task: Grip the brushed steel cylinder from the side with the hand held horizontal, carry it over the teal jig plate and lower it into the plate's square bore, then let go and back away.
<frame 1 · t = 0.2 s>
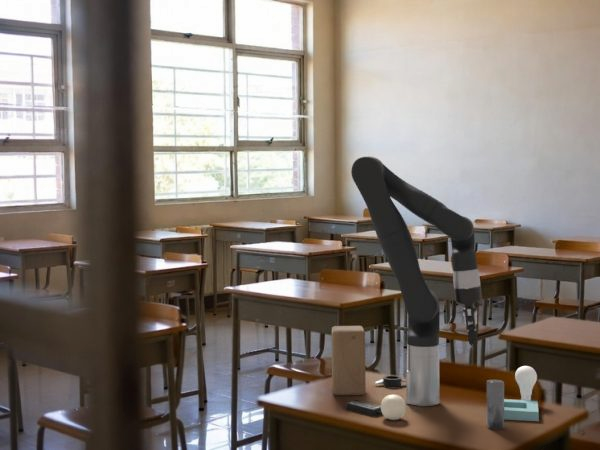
hand: (473, 341, 229), 19 cm above the table, tool pointing down, fingers open, 8 cm apart
jig: (515, 414, 219), on the table
multiport hub: (365, 413, 225), on the table
lightbulb: (526, 404, 230), on the table
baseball: (393, 419, 216), on the table
brushed steel cylinder: (495, 427, 207), on the table
black ring with tabs: (392, 387, 254), on the table
wooden block: (348, 392, 247), on the table
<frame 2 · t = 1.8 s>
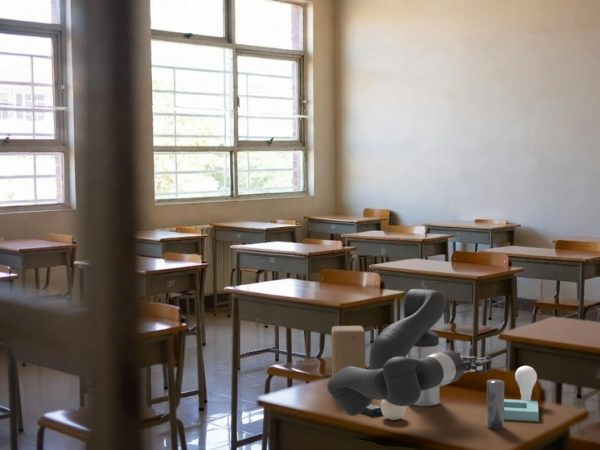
hand: (474, 358, 198), 20 cm above the table, tool horizontal, fingers open, 8 cm apart
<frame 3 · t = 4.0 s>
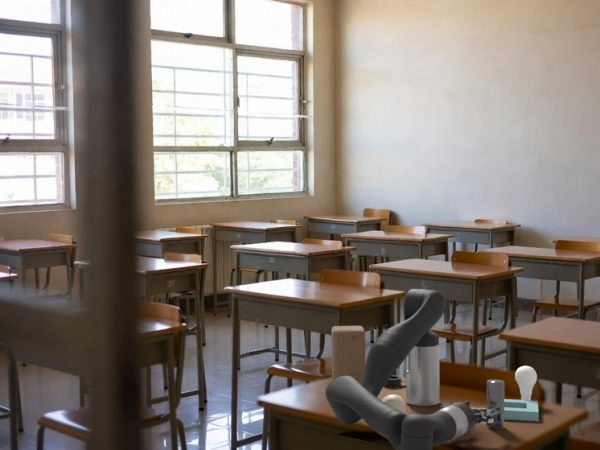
hand: (483, 407, 202), 7 cm above the table, tool horizontal, fingers open, 8 cm apart
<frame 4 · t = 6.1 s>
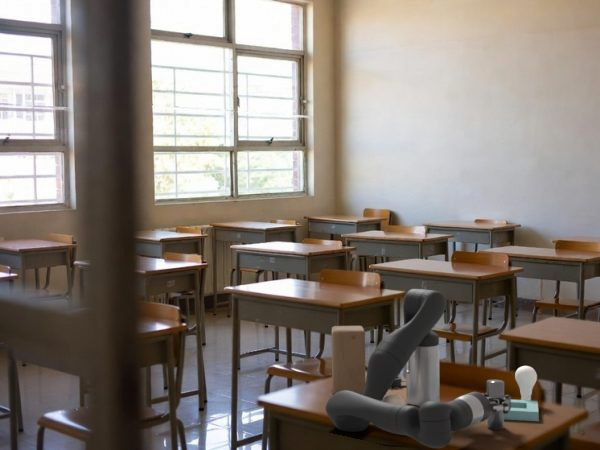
hand: (499, 397, 209), 7 cm above the table, tool horizontal, fingers closed on brushed steel cylinder, 4 cm apart
brushed steel cylinder: (495, 427, 207), on the table, touching gripper
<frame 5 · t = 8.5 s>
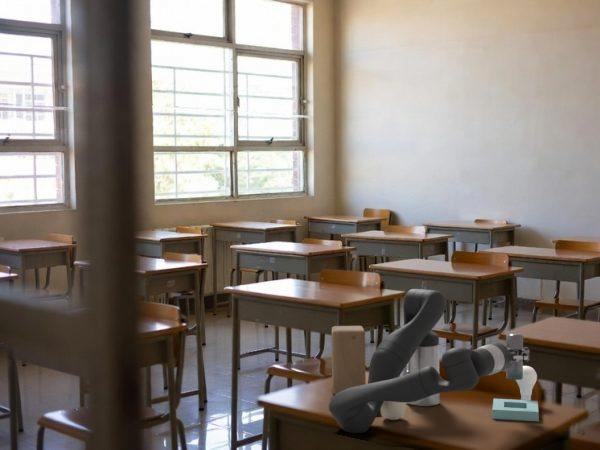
hand: (518, 349, 220), 18 cm above the table, tool horizontal, fingers closed on brushed steel cylinder, 4 cm apart
brushed steel cylinder: (514, 377, 218), point 10 cm above the table, touching gripper
when the fingers open (8 cm above the table, at t = 10.9 s): brushed steel cylinder stays where it is, resting in jig.
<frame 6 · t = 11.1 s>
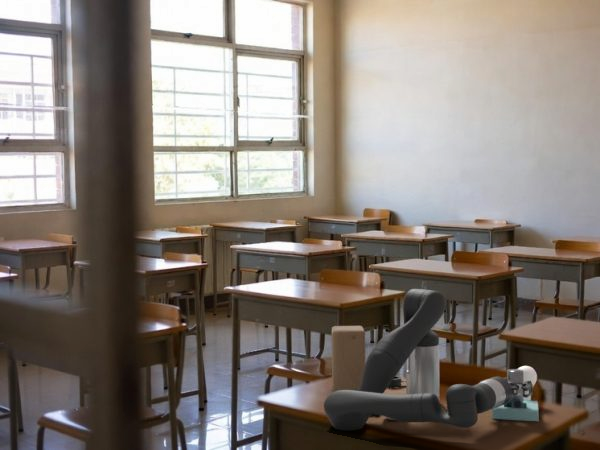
hand: (518, 382, 221), 8 cm above the table, tool horizontal, fingers open, 6 cm apart
brushed steel cylinder: (515, 413, 220), resting in jig
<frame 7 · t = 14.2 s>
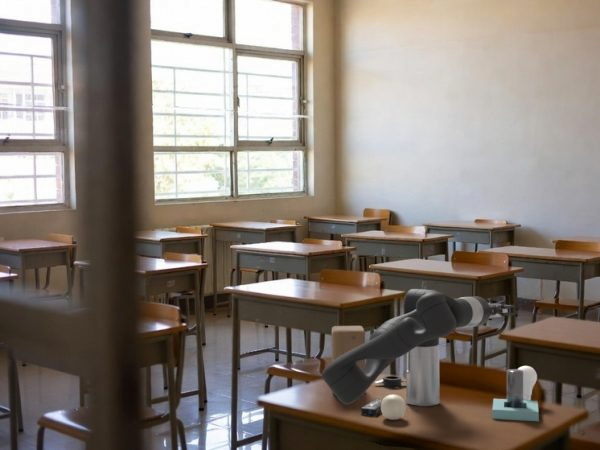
hand: (497, 309, 210), 30 cm above the table, tool horizontal, fingers open, 8 cm apart
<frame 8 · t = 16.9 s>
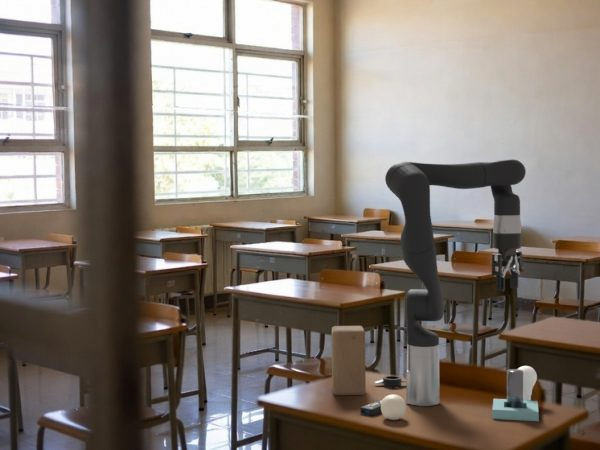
hand: (507, 289, 222), 34 cm above the table, tool pointing down, fingers open, 8 cm apart
at the end: brushed steel cylinder 0.1 cm off-centre on the jig, point 0.0 cm above the jig's base; brushed steel cylinder tilted 0°; the gripper is holding nothing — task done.
